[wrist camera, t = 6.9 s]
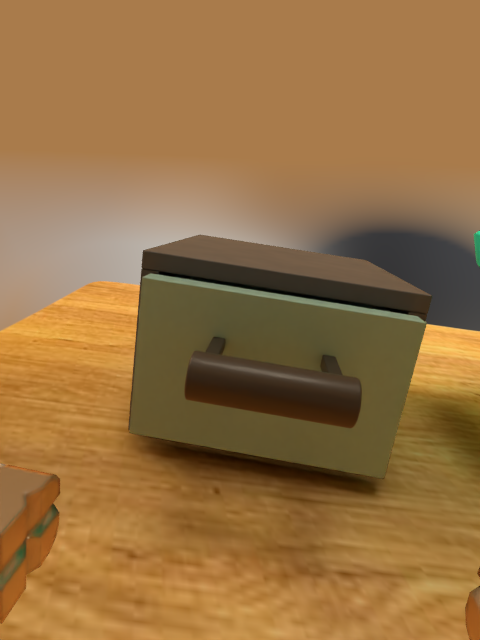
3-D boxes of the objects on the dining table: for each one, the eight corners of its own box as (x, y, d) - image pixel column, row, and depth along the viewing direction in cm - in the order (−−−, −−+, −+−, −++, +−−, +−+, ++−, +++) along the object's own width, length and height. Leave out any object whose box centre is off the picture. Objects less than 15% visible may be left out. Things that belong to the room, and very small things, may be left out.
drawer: (417, 563, 15) (482, 362, 13) (83, 500, 16) (94, 299, 14) (341, 373, 33) (363, 276, 31) (187, 347, 33) (198, 250, 31)
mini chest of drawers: (383, 476, 22) (432, 296, 19) (127, 430, 22) (142, 250, 20) (341, 371, 36) (366, 260, 33) (186, 345, 37) (199, 234, 34)
